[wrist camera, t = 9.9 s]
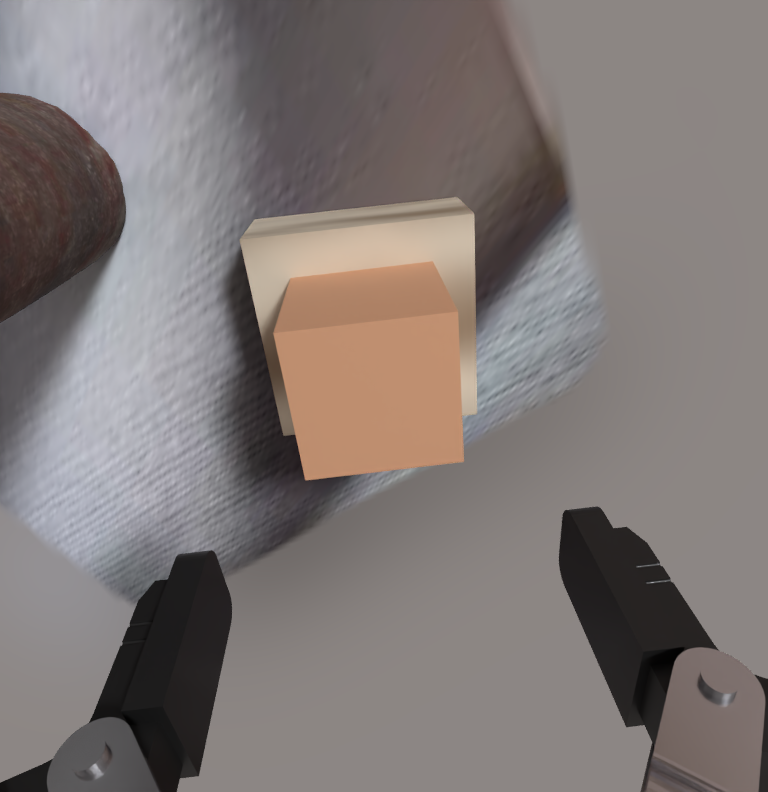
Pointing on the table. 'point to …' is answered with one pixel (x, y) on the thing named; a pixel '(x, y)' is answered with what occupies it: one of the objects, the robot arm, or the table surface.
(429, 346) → the terracotta cube
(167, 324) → the table surface
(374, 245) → the oak plinth
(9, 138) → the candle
